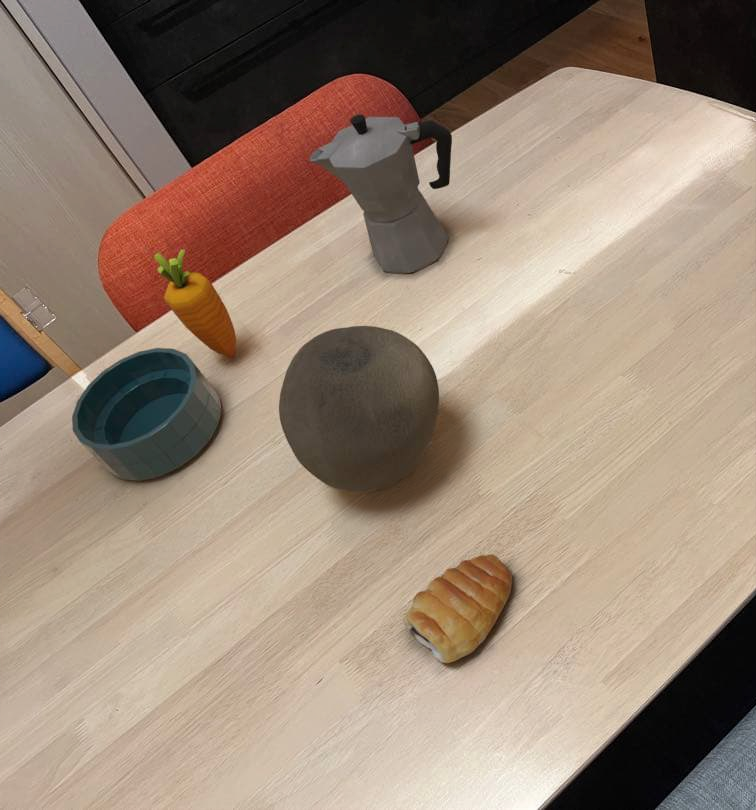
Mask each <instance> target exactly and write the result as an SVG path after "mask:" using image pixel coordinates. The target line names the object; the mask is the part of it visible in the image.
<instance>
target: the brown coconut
mask: <svg viewBox="0 0 756 810" xmlns="http://www.w3.org/2000/svg"><path fill="white" fill-rule="evenodd" d="M436 374H437V373H436V372H435V369H434V367H433V365H432V362H431V361H430V360H429V357H427V355H426V354H425V353H424V352H423V350H422V349H421V348H420V347H419V346H418V344H416V343H415V342H414V341H412V340H410V339H409V338H407V337H406V336H405V335H403V334H401V333H399V332H397V331H395V330H391V329H387V328H383V327H379V326H373V325H353V326H348V327H339V328H333V329H330V330H326V331H324V332H322V333H320V334H317V335H315V336H314V337H312V338H311V339H310V340H308V341H306V343H304V344H303V345H302V346H301V347H300V348H299V349H298V351H297V352H296V353H295V354H294V356H293V358H292V359H291V361H290V363H289V365H288V367H287V369H286V371H285V375H284V378H283V381H282V386H281V389H280V393H279V402H278V415H279V421H280V425H281V429H282V432H283V434H284V436H285V439H286V441H287V444H288V445H289V447H290V449H291V451H292V453H293V455H294V457H295V458H296V460H297V461H298V462H299V464H300V465H301V466H302V467H303V468H304V469H305V470H306V471H307V472H309V474H311V475H312V476H313V477H315V478H316V479H317V480H318V481H320V482H321V483H323V484H324V485H326V486H328V487H330V488H333V489H335V490H338V491H342V492H352V493H368V492H373V491H378V490H382V489H385V488H388V487H390V486H392V485H394V484H396V483H398V482H399V481H401V480H402V479H404V478H405V477H406V476H407V475H409V474H410V473H411V472H412V471H413V470H414V469H415V468H416V467H417V466H418V464H419V463H420V461H421V459H422V457H423V455H424V453H425V451H426V450H427V449H428V446H429V444H430V442H431V440H432V438H433V435H434V431H435V428H436V425H437V421H438V416H439V410H440V389H439V383H438V377H437V375H436Z"/></svg>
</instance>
